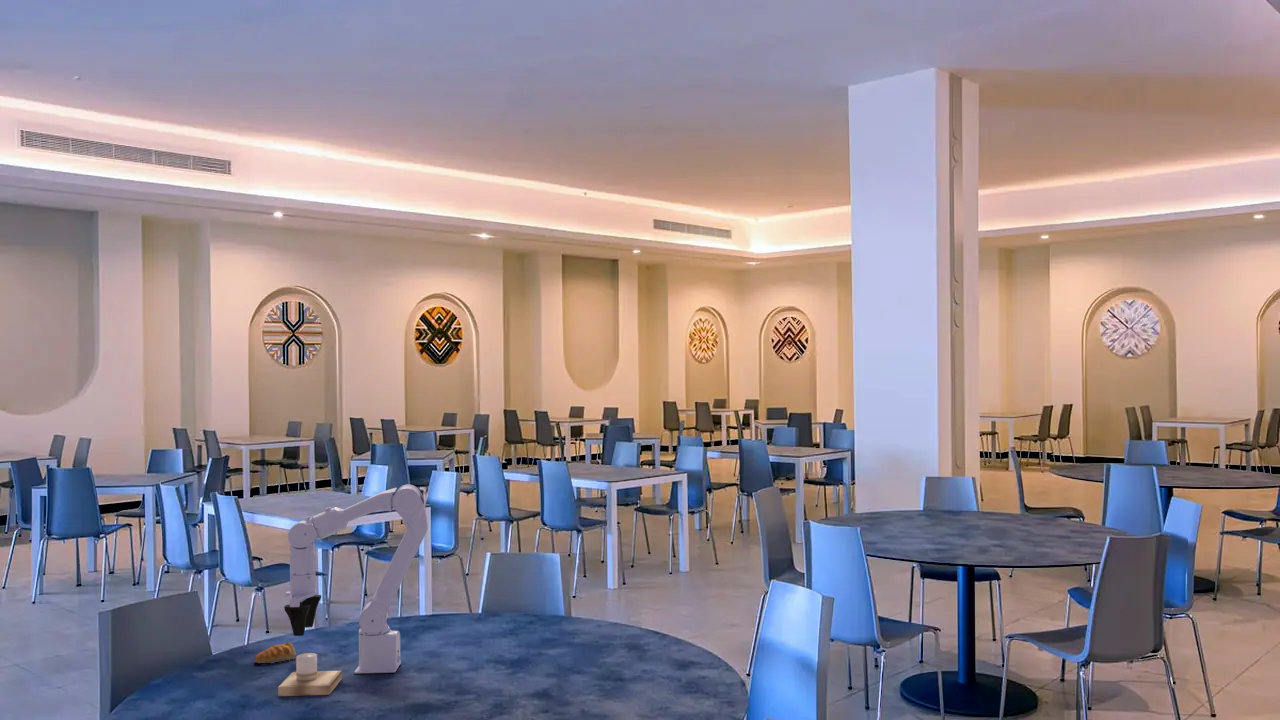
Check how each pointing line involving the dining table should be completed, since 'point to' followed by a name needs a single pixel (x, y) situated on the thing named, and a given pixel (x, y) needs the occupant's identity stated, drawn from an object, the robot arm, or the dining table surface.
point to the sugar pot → (306, 666)
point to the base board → (310, 684)
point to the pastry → (276, 653)
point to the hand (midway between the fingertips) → (303, 631)
